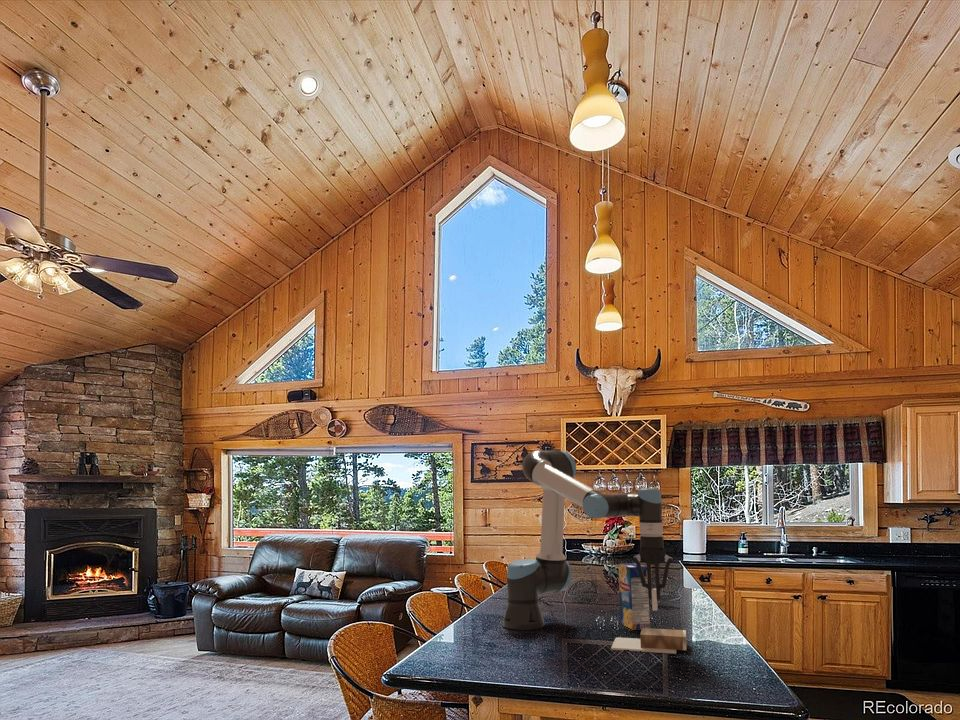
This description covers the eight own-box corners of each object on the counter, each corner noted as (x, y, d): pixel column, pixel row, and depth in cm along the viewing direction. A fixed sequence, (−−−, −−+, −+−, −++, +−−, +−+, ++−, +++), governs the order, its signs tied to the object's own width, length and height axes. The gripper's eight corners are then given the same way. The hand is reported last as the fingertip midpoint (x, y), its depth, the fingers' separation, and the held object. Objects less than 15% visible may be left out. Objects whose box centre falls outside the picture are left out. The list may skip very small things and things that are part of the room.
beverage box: (632, 631, 249) (630, 567, 253) (620, 624, 260) (618, 563, 263) (650, 630, 250) (647, 566, 254) (637, 623, 261) (635, 563, 265)
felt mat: (611, 649, 223) (611, 647, 223) (615, 639, 237) (615, 637, 237) (676, 653, 217) (676, 651, 217) (677, 642, 231) (676, 640, 232)
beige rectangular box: (640, 634, 223) (685, 637, 219) (642, 627, 233) (685, 630, 229) (640, 647, 223) (686, 650, 219) (642, 640, 232) (686, 643, 228)
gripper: (630, 536, 230) (633, 611, 226) (671, 536, 226) (675, 612, 223) (632, 534, 237) (635, 606, 233) (672, 534, 233) (676, 608, 230)
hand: (655, 609), depth 228 cm, fingers closed
